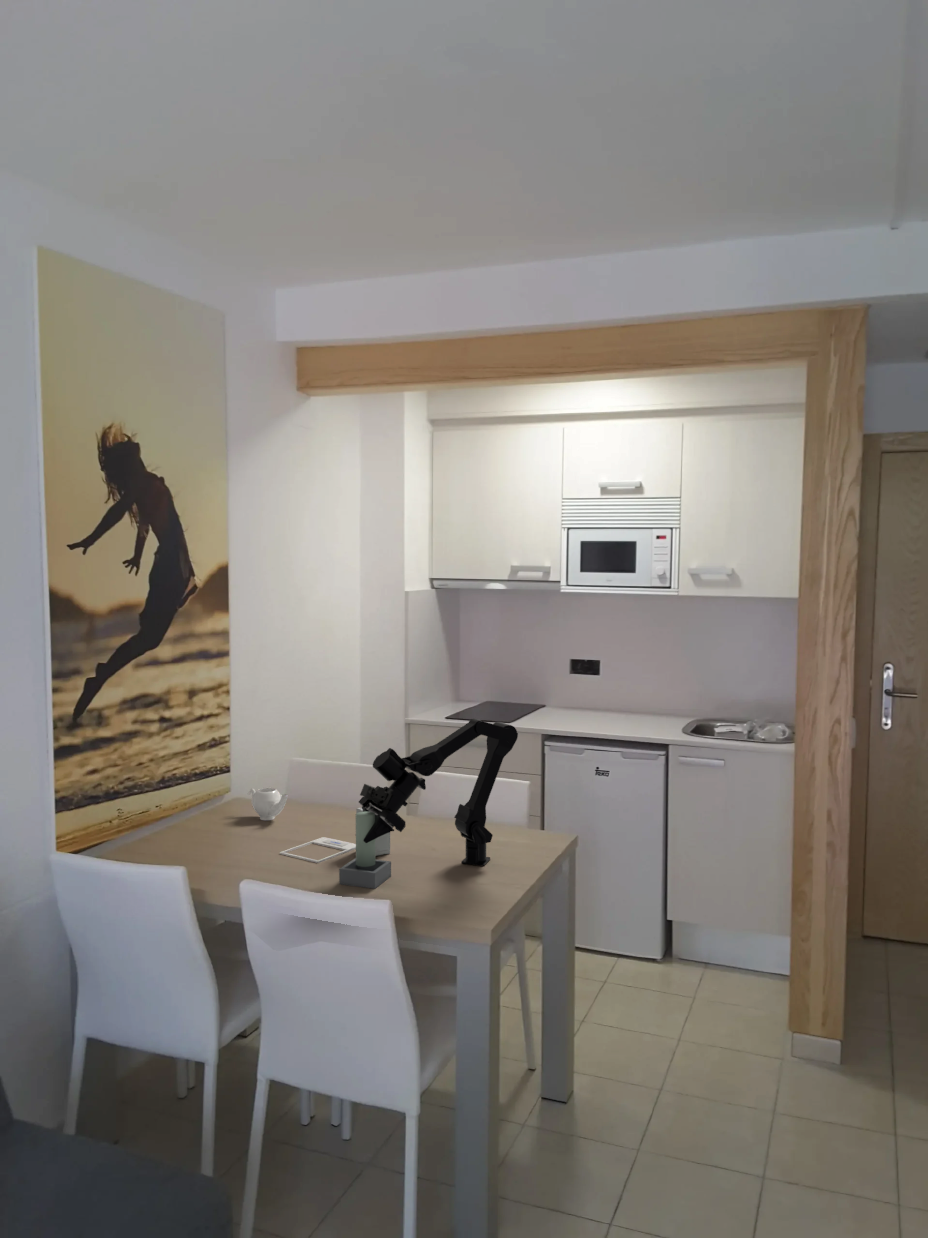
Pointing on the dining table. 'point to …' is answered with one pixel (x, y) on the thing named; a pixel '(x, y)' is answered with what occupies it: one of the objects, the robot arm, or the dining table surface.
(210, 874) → the dining table surface
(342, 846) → the photo frame
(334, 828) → the dining table surface
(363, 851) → the sage peg
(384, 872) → the gray square tray
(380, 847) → the supplement box
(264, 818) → the teapot
